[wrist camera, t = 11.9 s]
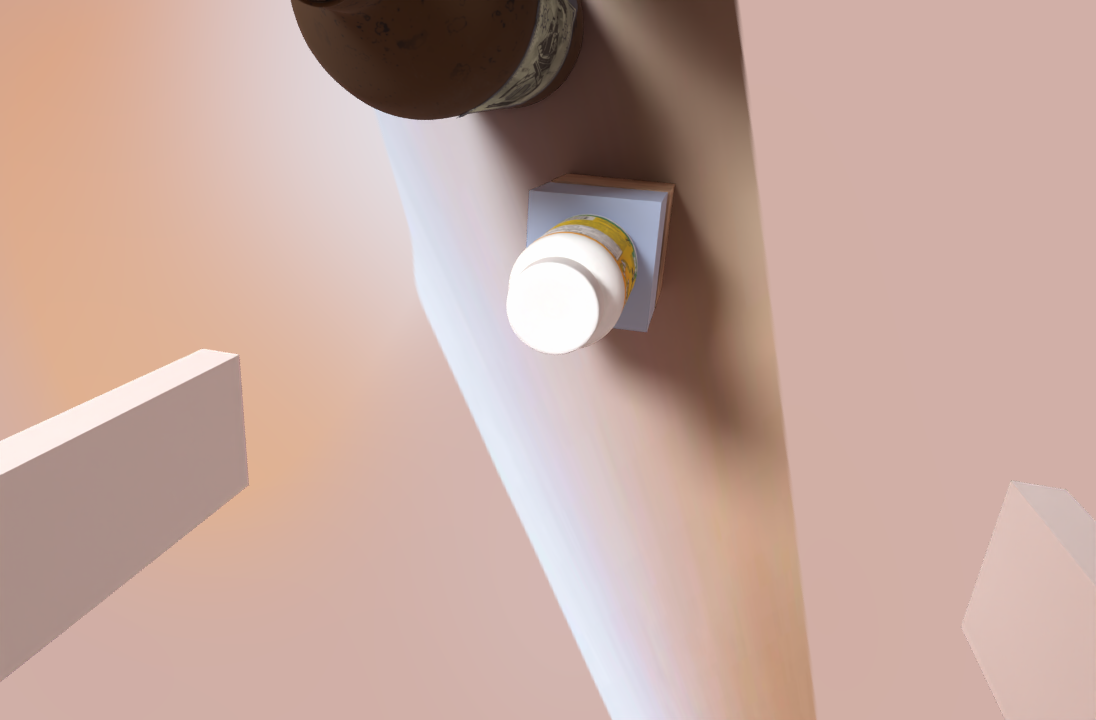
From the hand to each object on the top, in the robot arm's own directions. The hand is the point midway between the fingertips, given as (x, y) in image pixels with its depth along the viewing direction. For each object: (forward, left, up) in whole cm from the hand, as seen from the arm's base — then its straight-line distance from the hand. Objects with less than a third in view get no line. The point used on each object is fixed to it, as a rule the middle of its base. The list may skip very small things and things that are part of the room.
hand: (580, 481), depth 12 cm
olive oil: (-10, -12, -37) cm, 40 cm away
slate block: (+2, -4, -32) cm, 32 cm away
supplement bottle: (+2, -4, -27) cm, 27 cm away
